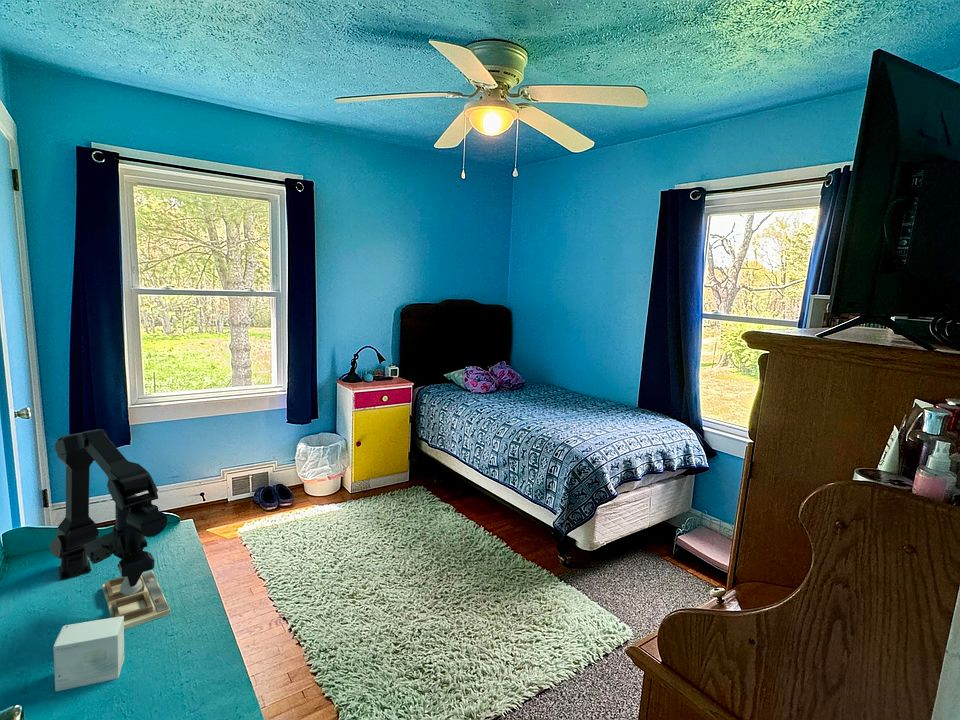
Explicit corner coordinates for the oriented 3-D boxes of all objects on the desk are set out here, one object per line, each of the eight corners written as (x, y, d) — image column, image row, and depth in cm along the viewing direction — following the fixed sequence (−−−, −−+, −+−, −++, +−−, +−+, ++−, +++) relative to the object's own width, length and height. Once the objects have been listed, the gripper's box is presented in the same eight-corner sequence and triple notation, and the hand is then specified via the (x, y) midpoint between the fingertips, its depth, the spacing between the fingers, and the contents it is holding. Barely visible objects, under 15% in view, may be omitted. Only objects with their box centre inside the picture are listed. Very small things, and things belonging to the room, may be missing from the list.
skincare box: (54, 693, 98) (52, 646, 96) (64, 669, 103) (62, 624, 102) (118, 679, 102) (117, 634, 101) (125, 657, 108) (124, 614, 106)
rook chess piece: (130, 597, 117) (130, 566, 116) (115, 593, 118) (114, 562, 117) (147, 586, 121) (146, 556, 120) (131, 582, 122) (131, 552, 121)
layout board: (102, 588, 128) (102, 579, 128) (152, 574, 136) (152, 565, 136) (115, 632, 114) (115, 622, 114) (170, 614, 122) (170, 604, 122)
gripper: (82, 514, 118) (83, 574, 120) (92, 550, 105) (94, 616, 107) (138, 503, 126) (138, 559, 128) (154, 535, 112) (155, 597, 115)
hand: (131, 581), depth 119 cm, fingers closed on rook chess piece, 3 cm apart
